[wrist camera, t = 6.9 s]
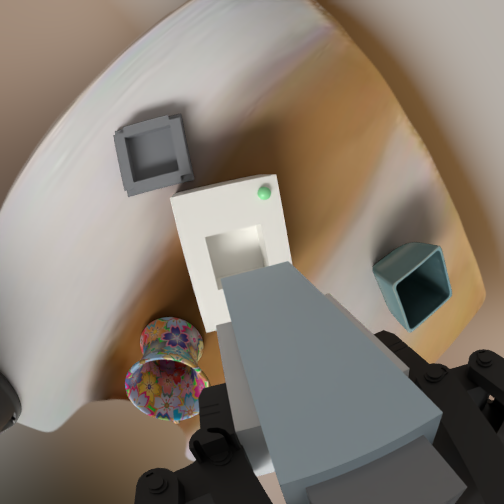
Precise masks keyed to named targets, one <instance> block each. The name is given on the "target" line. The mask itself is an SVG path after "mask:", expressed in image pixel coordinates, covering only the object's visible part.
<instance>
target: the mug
mask: <svg viewBox="0 0 504 504" xmlns="http://www.w3.org/2000/svg"><path fill="white" fill-rule="evenodd" d="M140 347H141V350H142V353H143V357H142V359H141V360H140V361H138V362H137V363H135V364H134V365H133V366H132V367H131V368H130V370H129V371H128V373H127V376H126V380H125V388H126V392H127V395H128V397H129V399H130V400H131V402H132V403H133V404H134V405H135V406H136V407H137V408H138V409H139V410H141V411H142V412H144V413H145V414H147V415H149V416H152V417H154V418H158V419H162V420H170V421H173V422H174V423H176V424H178V423H180V420H183V419H187V418H190V417H193V416H195V415H197V414H198V413H199V402H198V397H199V395H200V393H201V391H202V389H203V388H206V387H211V385H210V382H209V380H208V378H207V376H206V375H205V373H204V372H203V371H202V370H201V369H200V368H199V366H198V364H197V362H198V360H199V359H200V357H201V355H202V352H203V340H202V337H201V335H200V333H199V332H198V330H197V329H196V328H195V327H194V326H193V325H192V324H190V323H189V322H187V321H185V320H182V319H179V318H174V317H164V318H160V319H157V320H154V321H153V322H151V323H150V324H148V325H147V326H146V328H145V329H144V330H143V332H142V334H141V338H140Z"/></svg>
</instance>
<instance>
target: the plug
mask: <svg viewBox="0 0 504 504" xmlns="http://www.w3.org/2000/svg"><path fill="white" fill-rule="evenodd" d="M221 283H222V287H223V291H224V295H225V299H226V303H227V307H228V311H229V314H230V318H231V322H232V326H233V330H234V333H235V337H236V341H237V344H238V348H239V352H240V355H241V359H242V362H243V366H244V370H245V373H246V377H247V380H248V384H249V387H250V391H251V394H252V397H253V401H254V404H255V408H256V411H257V414H258V418H259V421H260V424H261V428H262V431H263V434H264V437H265V441H266V444H267V447H268V450H269V454H270V457H271V460H272V463H273V466H274V469H275V472H276V475H277V478H278V481H279V485H280V487H281V490H282V493H283V496H284V499H285V501H286V504H455V503H456V501H457V500H458V499H459V497H460V496H461V495H462V494H463V492H464V491H465V490H466V488H467V486H466V485H465V484H464V482H463V481H462V480H461V479H460V478H459V476H458V475H457V474H456V473H455V472H454V470H453V469H452V468H451V467H450V466H449V464H448V463H447V462H446V461H445V460H444V459H443V457H442V456H441V455H440V454H439V453H438V451H437V450H436V449H435V448H434V447H433V446H432V444H433V441H434V438H435V435H436V432H437V429H438V426H439V423H440V420H441V417H442V414H443V412H442V411H441V410H440V409H439V408H438V407H437V406H436V405H435V404H434V403H433V402H432V401H431V400H430V399H429V398H428V397H427V396H426V395H425V394H424V393H423V392H422V391H421V390H420V389H419V388H418V387H417V386H416V385H415V384H414V383H413V382H412V381H411V380H410V379H409V378H408V377H407V376H406V375H405V374H404V373H403V372H402V371H401V370H400V369H399V368H398V367H397V366H396V365H395V364H394V363H393V362H392V361H391V360H390V359H389V358H388V357H387V356H386V355H385V354H384V353H383V352H382V351H381V350H380V349H379V348H378V347H377V346H376V345H375V344H374V343H373V342H372V341H371V340H370V339H369V338H368V337H367V336H366V335H365V334H364V333H362V332H361V331H360V330H359V329H358V328H357V327H356V326H355V325H354V324H353V323H352V322H351V321H350V320H349V319H348V318H347V317H346V316H345V315H344V314H343V313H342V312H341V311H340V310H339V309H338V308H337V307H336V306H335V305H334V304H333V303H332V302H330V301H329V300H328V299H327V298H326V297H325V296H324V295H323V294H322V293H321V292H320V291H319V290H318V289H317V288H316V287H315V286H314V285H313V284H312V283H311V282H310V281H309V280H307V279H306V278H305V277H304V276H303V275H302V274H301V273H300V272H299V271H298V270H297V269H296V268H295V267H294V266H293V265H292V264H291V263H290V262H288V261H286V262H282V263H279V264H275V265H271V266H267V267H263V268H260V269H256V270H252V271H248V272H244V273H241V274H237V275H233V276H229V277H225V278H221Z"/></svg>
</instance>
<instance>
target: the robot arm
mask: <svg viewBox="0 0 504 504" xmlns="http://www.w3.org/2000/svg"><path fill="white" fill-rule="evenodd" d="M324 296H325V297H326V298H327V299H328V300H329V301H330V302H332V303H333V304H334V305H335V306H336V307H337V308H338V309H339V310H340V311H341V312H342V313H343V314H344V315H345V316H346V317H347V318H348V319H349V320H350V321H351V322H352V323H353V324H354V325H355V326H356V327H357V328H358V329H359V330H360V331H361V332H362V333H364V334H365V335H366V336H367V337H368V338H369V339H370V340H371V341H372V342H373V343H374V344H375V345H376V346H377V347H378V348H379V349H380V350H381V351H382V352H383V353H384V354H385V355H386V356H387V357H388V358H389V359H390V360H391V361H392V362H393V363H394V364H395V365H396V366H397V367H398V368H399V369H400V370H401V371H402V372H403V373H404V374H405V375H406V376H407V377H408V378H409V379H410V380H411V381H412V382H413V383H414V384H415V385H416V386H417V387H418V388H419V389H420V390H421V391H422V392H423V393H424V394H425V395H426V396H427V397H428V398H429V399H430V400H431V401H432V402H433V403H434V404H435V405H436V406H437V407H438V408H439V409H440V410H441V411H442V412H443V414H442V417H441V420H440V423H439V426H438V429H437V432H436V435H435V438H434V441H433V444H432V446H433V447H434V448H435V449H436V450H437V451H438V453H439V454H440V455H441V456H442V457H443V459H444V460H445V461H446V462H447V463H448V464H449V466H450V467H451V468H452V469H453V470H454V472H455V473H456V474H457V475H458V476H459V478H460V479H461V480H462V481H463V482H464V484H465V485H466V486H467V488H466V490H465V491H464V492H463V494H462V495H461V496H460V497H459V499H458V500H457V501H456V503H455V504H504V358H502V357H501V356H499V355H498V354H496V353H495V352H492V351H490V350H484V349H483V350H477V351H475V352H473V353H472V354H471V355H470V357H469V361H468V364H466V365H463V366H459V367H456V368H452V369H449V368H448V367H447V366H444V365H442V364H435V363H433V364H429V363H428V362H426V361H425V360H424V359H423V358H422V357H421V356H419V355H418V354H417V353H416V352H415V351H414V350H412V349H411V348H410V347H408V345H407V344H405V343H404V342H402V340H401V339H400V338H398V337H397V336H396V335H395V334H393V333H390V332H387V331H385V330H383V331H381V332H378V333H376V334H372V333H371V332H370V331H369V330H368V329H367V328H366V327H365V326H364V325H363V324H362V323H361V322H360V321H358V320H357V319H356V318H355V317H354V316H353V315H352V314H351V313H350V312H349V311H348V310H347V309H345V308H344V307H343V306H342V305H341V304H340V303H339V302H338V301H337V300H336V299H335V298H333V297H332V296H331V295H330V294H325V295H324ZM216 329H217V335H218V341H219V347H220V353H221V358H222V364H223V370H224V375H225V381H226V383H223V384H219V385H215V386H211V387H206V388H203V389H202V391H201V393H200V395H199V397H198V402H199V416H200V429H199V430H197V431H196V432H195V433H194V434H193V435H192V437H191V439H190V441H189V449H190V451H191V452H192V454H193V455H194V457H195V459H196V461H194V462H193V463H192V464H190V465H189V466H187V467H185V468H183V469H180V470H178V471H175V472H172V471H170V470H168V469H165V468H155V469H151V470H149V471H147V472H145V473H144V474H143V475H142V476H141V477H140V478H139V480H138V482H137V485H136V495H135V503H134V504H273V503H272V502H271V500H270V498H269V497H268V495H267V494H266V492H265V490H264V489H263V487H262V485H261V484H260V482H259V480H258V478H257V477H256V476H260V475H264V474H268V473H272V472H275V469H274V466H273V463H272V460H271V457H270V454H269V450H268V447H267V444H266V441H265V437H264V434H263V431H262V428H261V424H260V421H259V418H258V414H257V411H256V408H255V404H254V401H253V397H252V394H251V391H250V387H249V384H248V380H247V377H246V373H245V370H244V366H243V362H242V359H241V355H240V352H239V348H238V344H237V341H236V337H235V333H234V330H233V326H232V322H227V323H223V324H219V325H216ZM489 395H491V396H493V397H494V398H495V399H494V400H490V399H489ZM20 414H21V405H20V401H19V399H18V396H17V394H16V393H15V391H14V389H13V388H12V386H11V385H10V383H9V382H8V381H7V380H6V379H5V377H4V376H3V375H2V374H1V373H0V434H2V433H3V432H5V431H6V430H7V429H9V428H10V427H11V426H13V425H14V424H15V423H16V422H17V420H18V418H19V416H20Z"/></svg>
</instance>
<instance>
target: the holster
mask: <svg viewBox="0 0 504 504" xmlns="http://www.w3.org/2000/svg"><path fill="white" fill-rule="evenodd" d="M114 142H115V147H116V152H117V158H118V162H119V167H120V172H121V177H122V181H123V186H124V190H125V191H126V190H127V194H128V197H130V196H134V195H137V194H141V193H144V192H148V191H152V190H156V189H159V188H163V187H167V186H171V185H175V184H179V183H183V182H187V181H191V180H195V179H194V175H193V170H192V165H191V160H190V156H189V151H188V146H187V141H186V136H185V131H184V126H183V121H182V116H181V114H177V115H173V116H168V115H165V116H161V117H157V118H154V119H150V120H146V121H143V122H139V123H136V124H132V125H129V126H125V127H123V129H122V130H118V131H115V135H114Z"/></svg>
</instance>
